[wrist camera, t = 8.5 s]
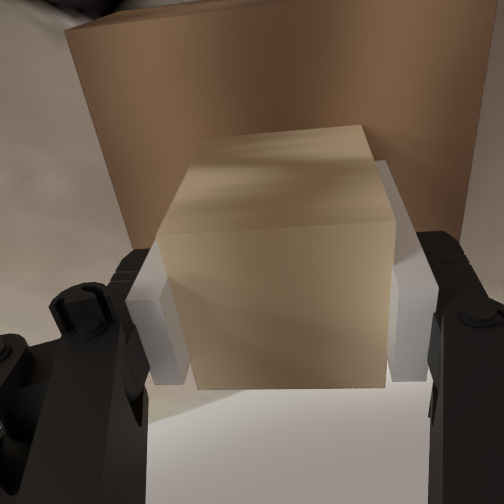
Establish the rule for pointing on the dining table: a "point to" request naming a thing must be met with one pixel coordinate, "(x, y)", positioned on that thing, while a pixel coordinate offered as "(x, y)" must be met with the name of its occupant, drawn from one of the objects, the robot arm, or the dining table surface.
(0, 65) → the dining table surface
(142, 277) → the robot arm
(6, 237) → the dining table surface
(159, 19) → the walnut pedestal
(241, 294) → the oak block
